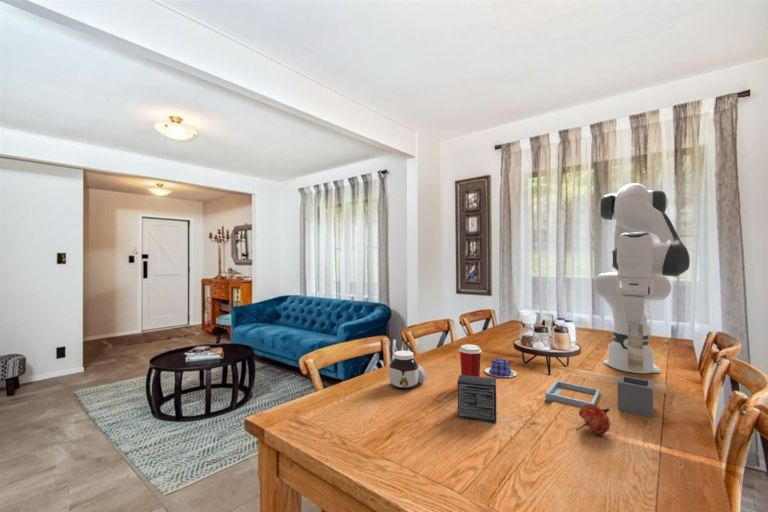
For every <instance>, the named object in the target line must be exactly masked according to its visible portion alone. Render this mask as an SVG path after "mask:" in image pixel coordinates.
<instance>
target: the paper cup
mask: <svg viewBox="0 0 768 512" xmlns="http://www.w3.org/2000/svg"><path fill="white" fill-rule="evenodd" d="M458 351H459V355H460V356H459V357H460V359H459V360H460V372H461V373H460V375H467V376H476V377H481V376H480V372H481V358H482V357H481V356H482V355H481V354H482V349H481V347H480V346H479V345H477V344H463V345H462V344H461V346H460V347H459V349H458Z"/></svg>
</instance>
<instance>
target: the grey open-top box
mask: <svg viewBox="0 0 768 512" xmlns="http://www.w3.org/2000/svg"><path fill="white" fill-rule="evenodd" d="M654 407H655V405H654V380H651V379H647V378H640V377H635V376H630V375H629V376H628V375H624V374H620V375H619V378H618V380H617V410H618V411H619V412H620V411H621V412H625V413H629V414H632V415H633V414H634V415H638V416H641V417H647V418H650V419H654V409H655V408H654Z"/></svg>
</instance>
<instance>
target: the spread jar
mask: <svg viewBox="0 0 768 512" xmlns="http://www.w3.org/2000/svg"><path fill="white" fill-rule="evenodd" d="M414 354H415V353H414V352H412V351H410V350H397V351H395V352H394V353H393V355H394V358H393V359H392V360H391V362H390V364H389V369H388V379H389V382H390V385H391V386H392V387H393V388H394V389H396V390H401V391H407V390H408V391H409V389H410V390H412V389H414V388H415V387H416V386H417V385H418V383H419V384H422V383H424V382H425V381H426V380H427V372H426V370H425V369H424V368H423V366H421V365H420V364H419V363H418V362H417V360H416V359H415V358H414V356H415V355H414Z"/></svg>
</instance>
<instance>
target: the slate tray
mask: <svg viewBox="0 0 768 512" xmlns="http://www.w3.org/2000/svg"><path fill="white" fill-rule="evenodd" d="M563 389H570V390H574V391H578V392H582V393H587V394H593V397H592V399H591V402H590V401H585V400H582V399H577V398H572V397H569V396H568V397H567V396H564V395H560V393H561V392H562V390H563ZM600 396H601V389H598V388H594V387H589V386H584V385H579V384H573V383H569V382H564V381H560V380H555V381H554V382H553V384H552V385H551V386H550V387H549V388H548V389H547V390H546V392H545V402H548V403H554V401H557V402H561V403H565V404H569V405H574V406H577V407H581V408H582V407H583V406H584V405H587V404H590V405H595V406H597V405H596V404H597V403H598V400H599V398H600Z"/></svg>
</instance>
